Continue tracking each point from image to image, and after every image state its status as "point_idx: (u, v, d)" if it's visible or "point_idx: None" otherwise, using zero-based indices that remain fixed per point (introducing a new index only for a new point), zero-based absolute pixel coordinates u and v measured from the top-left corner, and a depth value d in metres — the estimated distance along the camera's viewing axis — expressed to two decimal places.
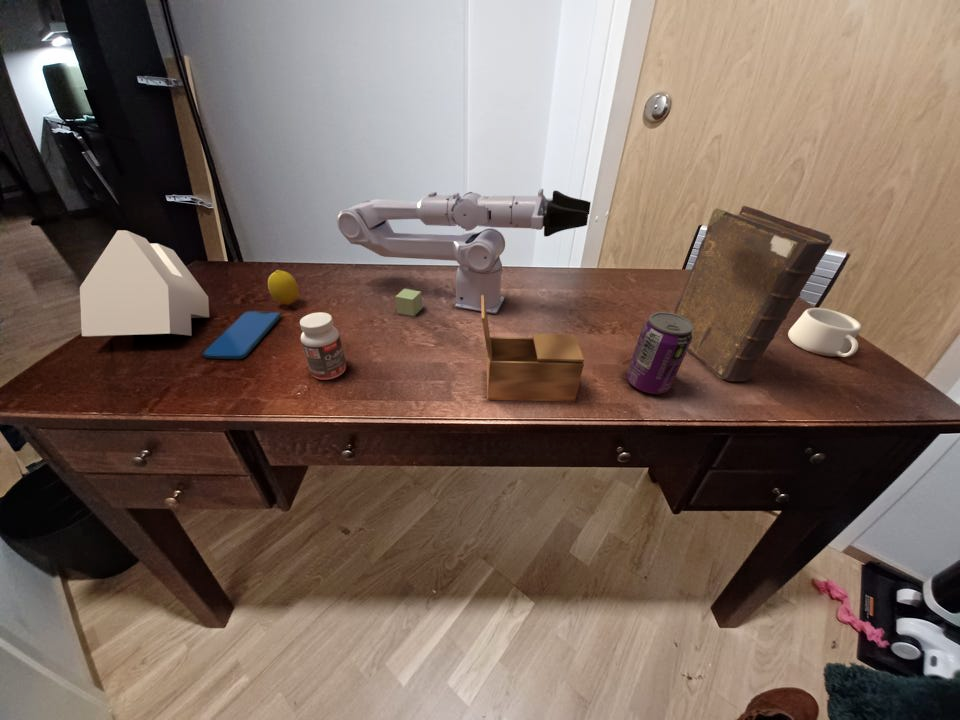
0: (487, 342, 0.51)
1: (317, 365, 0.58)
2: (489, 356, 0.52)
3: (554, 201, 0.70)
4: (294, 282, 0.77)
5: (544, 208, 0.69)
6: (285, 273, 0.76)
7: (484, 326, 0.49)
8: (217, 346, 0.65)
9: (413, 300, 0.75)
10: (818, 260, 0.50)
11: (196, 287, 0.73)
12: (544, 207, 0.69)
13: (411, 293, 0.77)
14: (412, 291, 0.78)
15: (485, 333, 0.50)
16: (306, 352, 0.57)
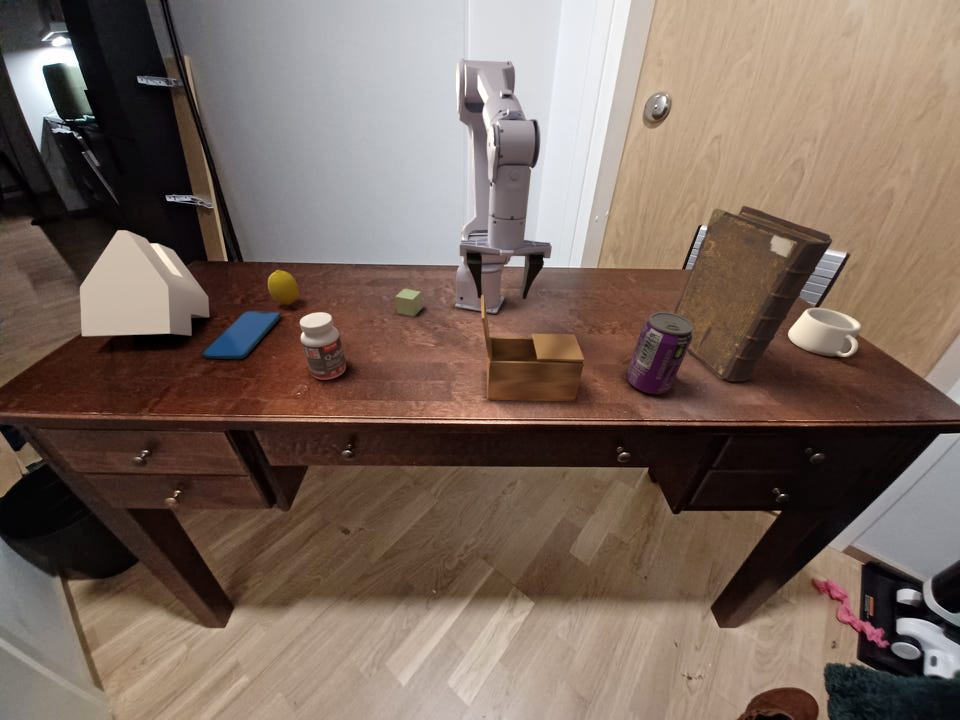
0: (487, 342, 0.51)
1: (317, 365, 0.58)
2: (489, 356, 0.52)
3: (527, 261, 0.58)
4: (294, 282, 0.77)
5: None
6: (285, 273, 0.76)
7: (484, 326, 0.49)
8: (217, 346, 0.65)
9: (413, 300, 0.75)
10: (818, 260, 0.50)
11: (196, 287, 0.73)
12: None
13: (411, 293, 0.77)
14: (412, 291, 0.78)
15: (485, 333, 0.50)
16: (306, 352, 0.57)
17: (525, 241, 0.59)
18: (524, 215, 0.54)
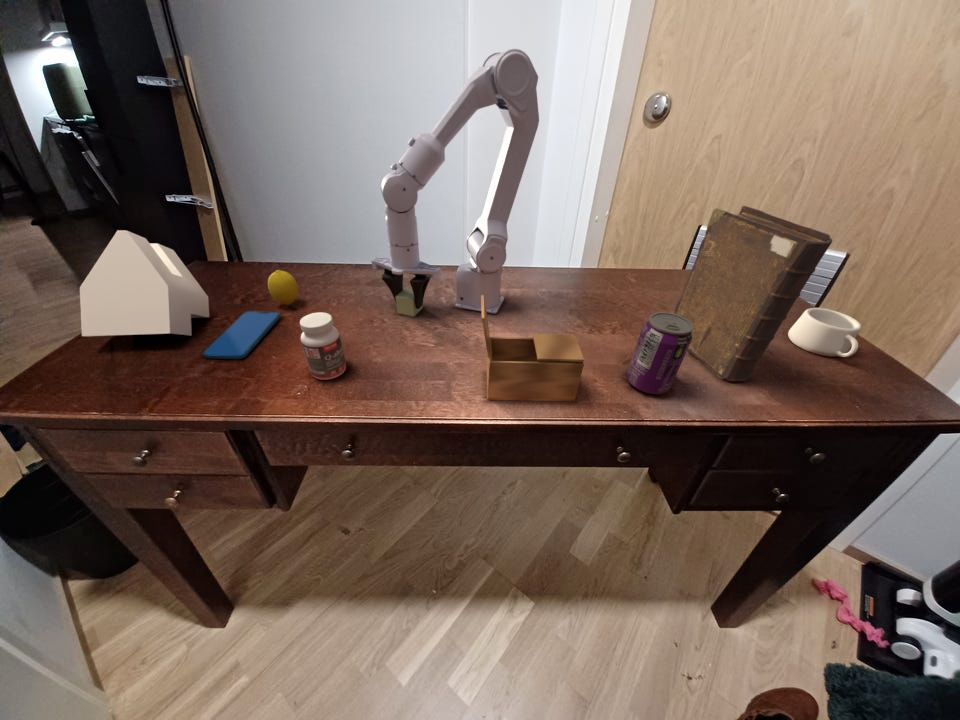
0: (487, 342, 0.51)
1: (317, 365, 0.58)
2: (489, 356, 0.52)
3: None
4: (294, 282, 0.77)
5: None
6: (285, 273, 0.76)
7: (484, 326, 0.49)
8: (217, 346, 0.65)
9: (413, 300, 0.75)
10: (818, 260, 0.50)
11: (196, 287, 0.73)
12: None
13: (411, 293, 0.77)
14: (412, 291, 0.78)
15: (485, 333, 0.50)
16: (306, 352, 0.57)
17: (424, 264, 0.74)
18: (393, 244, 0.68)
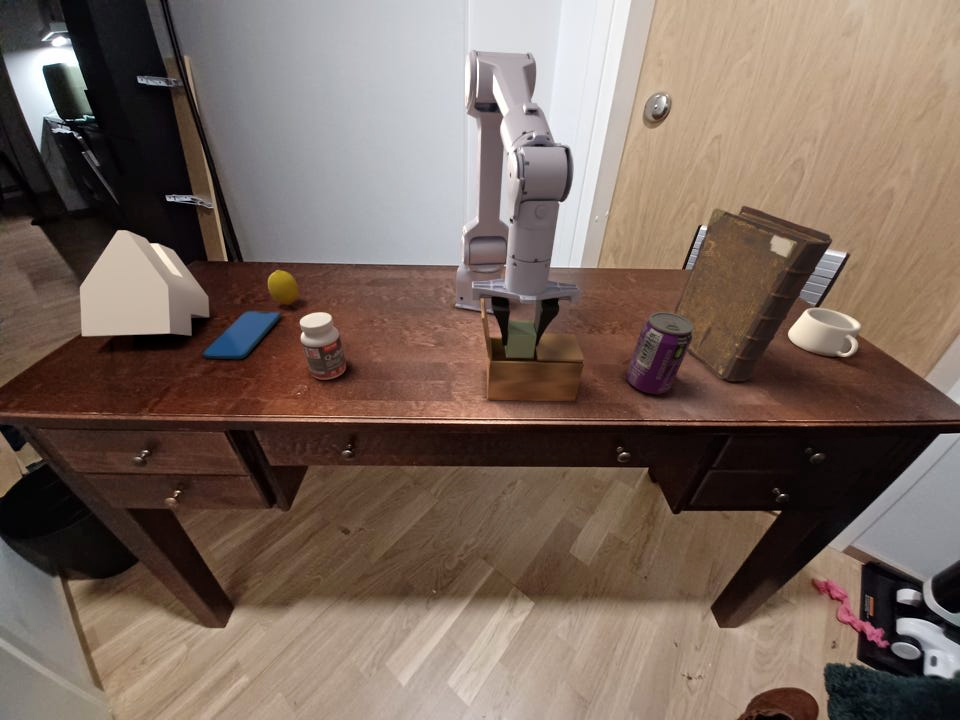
0: (487, 342, 0.51)
1: (317, 365, 0.58)
2: (489, 356, 0.52)
3: (540, 306, 0.50)
4: (294, 282, 0.77)
5: None
6: (285, 273, 0.76)
7: (484, 326, 0.49)
8: (217, 346, 0.65)
9: None
10: (818, 260, 0.50)
11: (196, 287, 0.73)
12: None
13: (524, 326, 0.54)
14: (522, 323, 0.54)
15: (485, 333, 0.50)
16: (306, 352, 0.57)
17: (548, 282, 0.51)
18: (550, 256, 0.45)
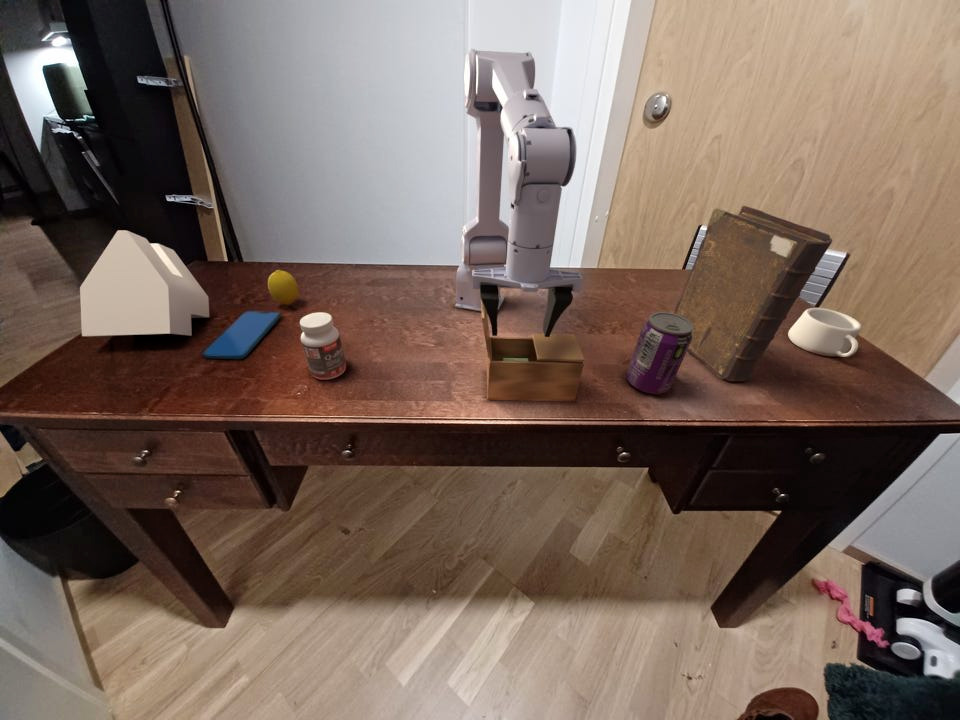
0: (487, 342, 0.51)
1: (317, 365, 0.58)
2: (489, 356, 0.52)
3: (553, 295, 0.49)
4: (294, 282, 0.77)
5: None
6: (285, 273, 0.76)
7: (484, 326, 0.49)
8: (217, 346, 0.65)
9: None
10: (818, 260, 0.50)
11: (196, 287, 0.73)
12: None
13: None
14: (517, 360, 0.58)
15: (485, 333, 0.50)
16: (306, 352, 0.57)
17: (550, 270, 0.50)
18: (552, 242, 0.44)
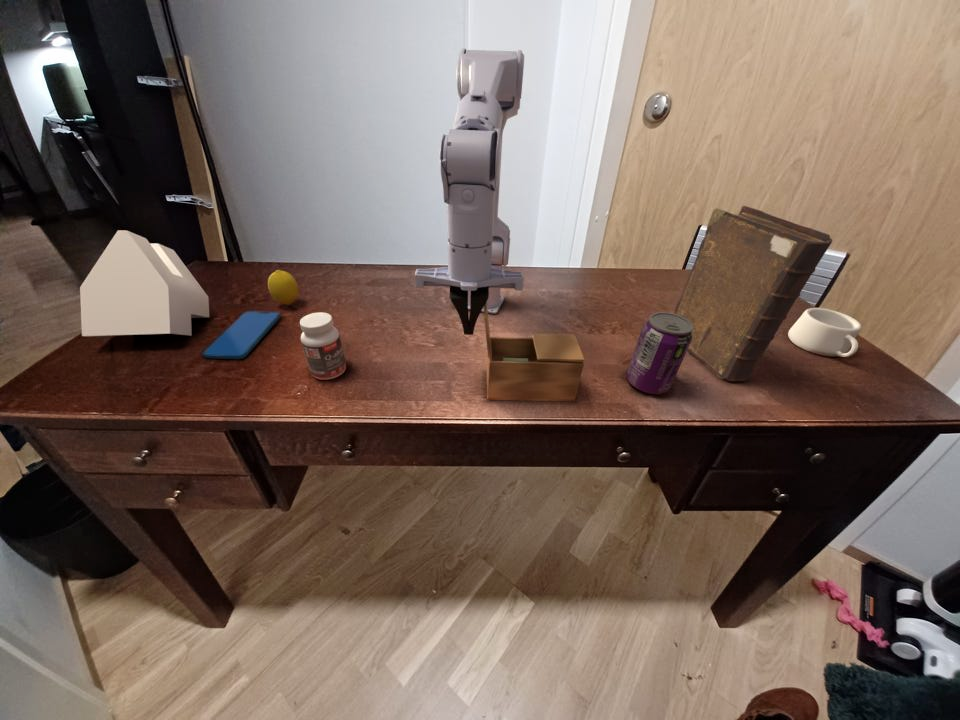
0: (488, 342, 0.51)
1: (317, 365, 0.58)
2: (489, 356, 0.52)
3: None
4: (294, 282, 0.77)
5: None
6: (285, 273, 0.76)
7: (486, 326, 0.49)
8: (217, 346, 0.65)
9: None
10: (818, 260, 0.50)
11: (196, 287, 0.73)
12: None
13: None
14: (517, 360, 0.58)
15: (487, 333, 0.50)
16: (306, 352, 0.57)
17: (494, 270, 0.51)
18: (485, 243, 0.45)
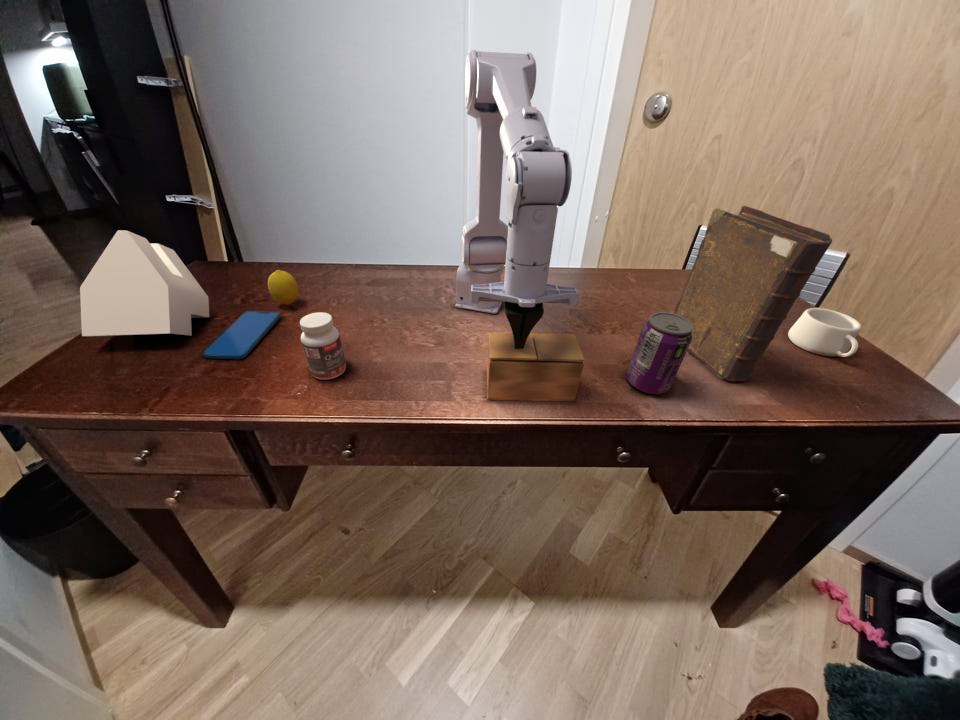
0: (509, 359, 0.53)
1: (317, 365, 0.58)
2: (492, 358, 0.52)
3: (524, 309, 0.50)
4: (294, 282, 0.77)
5: None
6: (285, 273, 0.76)
7: (527, 359, 0.53)
8: (217, 346, 0.65)
9: None
10: (818, 260, 0.50)
11: (196, 287, 0.73)
12: None
13: None
14: (517, 360, 0.58)
15: (519, 358, 0.53)
16: (306, 352, 0.57)
17: (547, 285, 0.51)
18: (548, 260, 0.46)
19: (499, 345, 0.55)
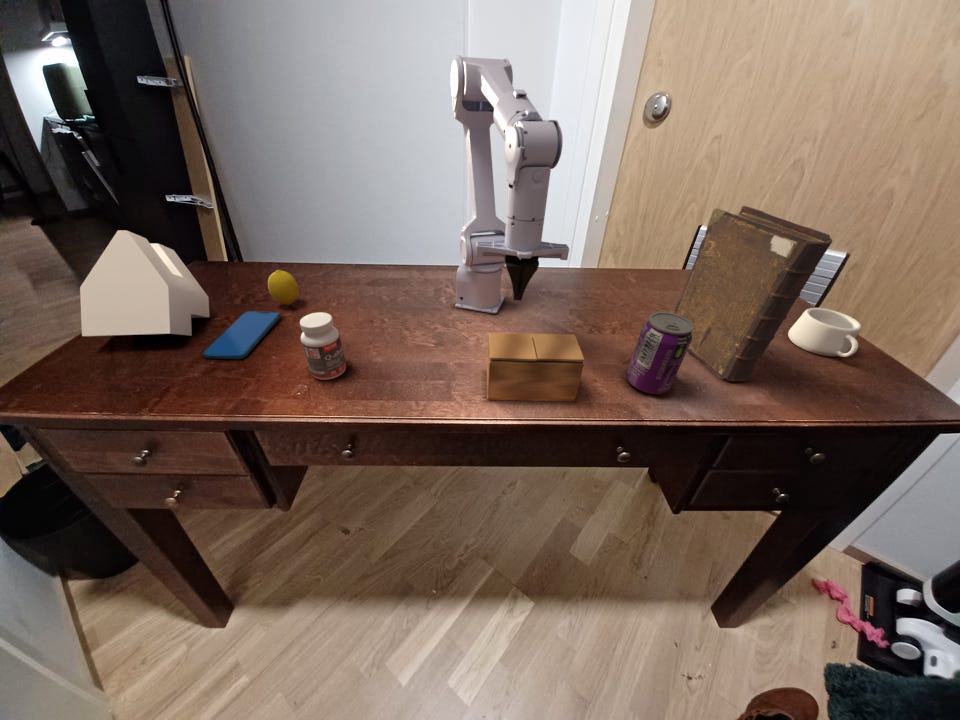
0: (509, 359, 0.53)
1: (317, 365, 0.58)
2: (492, 358, 0.52)
3: (522, 263, 0.58)
4: (294, 282, 0.77)
5: None
6: (285, 273, 0.76)
7: (527, 359, 0.53)
8: (217, 346, 0.65)
9: None
10: (818, 260, 0.50)
11: (196, 287, 0.73)
12: None
13: None
14: None
15: (519, 359, 0.53)
16: (306, 352, 0.57)
17: (542, 243, 0.59)
18: (543, 216, 0.54)
19: (499, 345, 0.55)
